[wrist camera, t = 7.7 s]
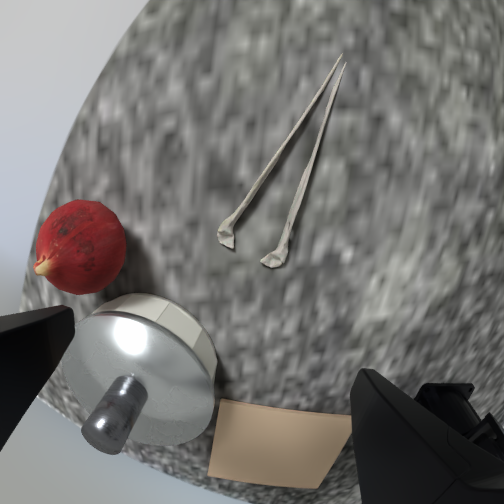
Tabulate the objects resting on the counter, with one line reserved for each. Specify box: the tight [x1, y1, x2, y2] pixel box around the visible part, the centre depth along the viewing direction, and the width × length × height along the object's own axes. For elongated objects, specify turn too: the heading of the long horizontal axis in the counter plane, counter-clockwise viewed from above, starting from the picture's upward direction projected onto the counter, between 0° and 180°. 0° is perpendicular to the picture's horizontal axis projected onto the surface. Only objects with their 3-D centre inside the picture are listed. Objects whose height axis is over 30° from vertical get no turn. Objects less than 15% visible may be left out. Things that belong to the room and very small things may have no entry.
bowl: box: [92, 293, 217, 387], centre depth 22 cm, size 11×11×4 cm
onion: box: [33, 199, 126, 295], centre depth 17 cm, size 6×6×8 cm
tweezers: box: [217, 53, 346, 268], centre depth 19 cm, size 17×5×2 cm, turn 155°
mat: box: [207, 398, 352, 489], centre depth 25 cm, size 12×12×1 cm
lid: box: [61, 311, 215, 455], centre depth 17 cm, size 12×12×6 cm
